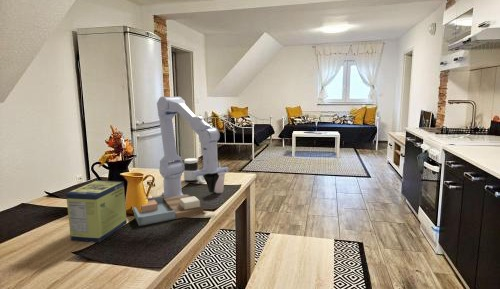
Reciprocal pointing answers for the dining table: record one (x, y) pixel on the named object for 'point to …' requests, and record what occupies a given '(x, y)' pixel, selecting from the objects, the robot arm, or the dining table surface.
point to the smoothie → (220, 182)
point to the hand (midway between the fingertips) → (211, 191)
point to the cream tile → (189, 202)
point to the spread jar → (191, 166)
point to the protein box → (96, 210)
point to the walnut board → (180, 212)
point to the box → (154, 213)
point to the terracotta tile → (149, 206)
